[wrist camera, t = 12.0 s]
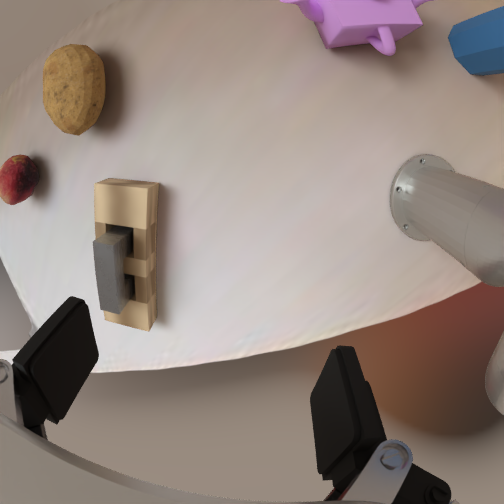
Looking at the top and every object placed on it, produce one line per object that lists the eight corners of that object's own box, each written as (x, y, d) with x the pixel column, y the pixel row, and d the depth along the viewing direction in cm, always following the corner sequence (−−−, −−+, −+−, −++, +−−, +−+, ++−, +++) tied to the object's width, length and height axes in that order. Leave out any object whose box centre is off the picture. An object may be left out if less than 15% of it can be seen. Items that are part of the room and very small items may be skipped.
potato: (77, 146, 33) (43, 152, 26) (59, 71, 28) (26, 66, 21) (128, 117, 32) (97, 115, 25) (108, 38, 27) (77, 24, 19)
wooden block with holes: (159, 182, 35) (147, 188, 32) (156, 316, 44) (149, 331, 40) (109, 178, 35) (94, 183, 32) (115, 306, 44) (105, 319, 40)
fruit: (19, 155, 34) (-13, 163, 26) (45, 148, 33) (12, 155, 26) (22, 197, 37) (-8, 210, 29) (49, 194, 36) (17, 208, 29)
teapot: (364, 86, 29) (401, 70, 19) (274, 31, 27) (278, -7, 17) (408, 18, 24) (445, -7, 14) (328, -32, 21) (344, -72, 11)
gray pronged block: (121, 221, 37) (92, 241, 30) (139, 224, 37) (113, 245, 30) (123, 281, 41) (100, 309, 34) (140, 285, 41) (119, 314, 34)
